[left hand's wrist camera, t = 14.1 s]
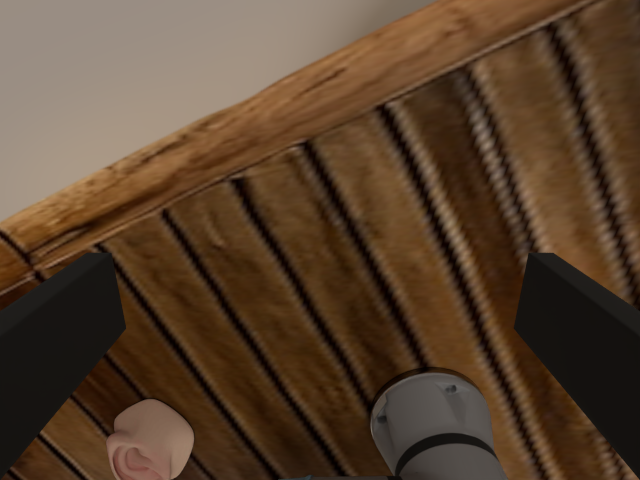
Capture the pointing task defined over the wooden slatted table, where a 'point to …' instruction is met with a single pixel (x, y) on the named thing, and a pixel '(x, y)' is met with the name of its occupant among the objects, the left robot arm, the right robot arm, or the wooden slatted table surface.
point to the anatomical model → (149, 442)
